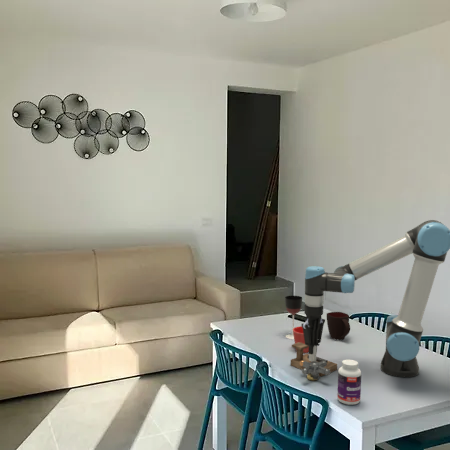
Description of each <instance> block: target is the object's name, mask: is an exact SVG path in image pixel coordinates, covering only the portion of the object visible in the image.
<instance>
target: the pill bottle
mask: <svg viewBox="0 0 450 450" xmlns="http://www.w3.org/2000/svg"><path fill="white" fill-rule="evenodd" d="M358 366H359V362H358V361H357V360H353V359H344V360H342V361H341V366H340V367H339V368H338V369H337V370H338V372H337V394H336V395H337V399H338V401H339V402H340V403H342V404H344V405H347V406H354V405H358V404H359V403H360V402H361V394H362V393H361V391H362V371H361V369H360V368H358Z"/></svg>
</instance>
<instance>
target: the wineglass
mask: <svg viewBox="0 0 450 450" xmlns="http://www.w3.org/2000/svg"><path fill="white" fill-rule="evenodd" d="M284 299H285V300H284V302H285V303H284V304H285V309H286V311H287V312H288V313H289V314H290V315H292V326H291V328H292V329H291V330H292V331H291V332H292V333H291V334H290V333H289V334H286V335H285V338H287V339H289V340H294V335H293V329H294V328H295V315H297V314H299V313H300V312H301V309H302V303H303V297H302V296H299V295H287V296H285V297H284Z"/></svg>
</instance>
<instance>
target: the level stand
mask: <svg viewBox="0 0 450 450" xmlns="http://www.w3.org/2000/svg"><path fill="white" fill-rule="evenodd" d="M291 348H293V349H295V350H296V349H297V350H296V357H294V358H292V359H290V366H291V367H293V368H297V369H299V370H301V371H302V370H303V369H304V368H306V367H303V366H301V365H300V361H301V360H304V361H306V362H309V363H310V362H312V361H309V353H305V354H304V353H303V349H305V348H308V345H305V344H303V343H300V342H298V343H295V342H294V343H293V344H291ZM321 361H326V363H327V365H326V366H325V367H324V368H326V369H329V370H330V374H331V373H333V372H335V371H337V370H338V363H335V362H334V361H333V362H332V361H330V360H327V359H324V358H323V357H322V358H321V357H318V356H316V362H321ZM323 376H326V375H325V374H322V373H320V372H319V377H323Z"/></svg>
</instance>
